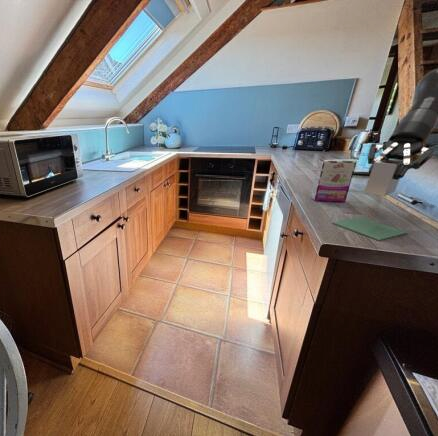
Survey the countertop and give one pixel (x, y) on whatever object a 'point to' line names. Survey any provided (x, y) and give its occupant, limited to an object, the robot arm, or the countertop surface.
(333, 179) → the candy bar box
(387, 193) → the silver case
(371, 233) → the green mat
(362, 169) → the countertop surface
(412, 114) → the robot arm
